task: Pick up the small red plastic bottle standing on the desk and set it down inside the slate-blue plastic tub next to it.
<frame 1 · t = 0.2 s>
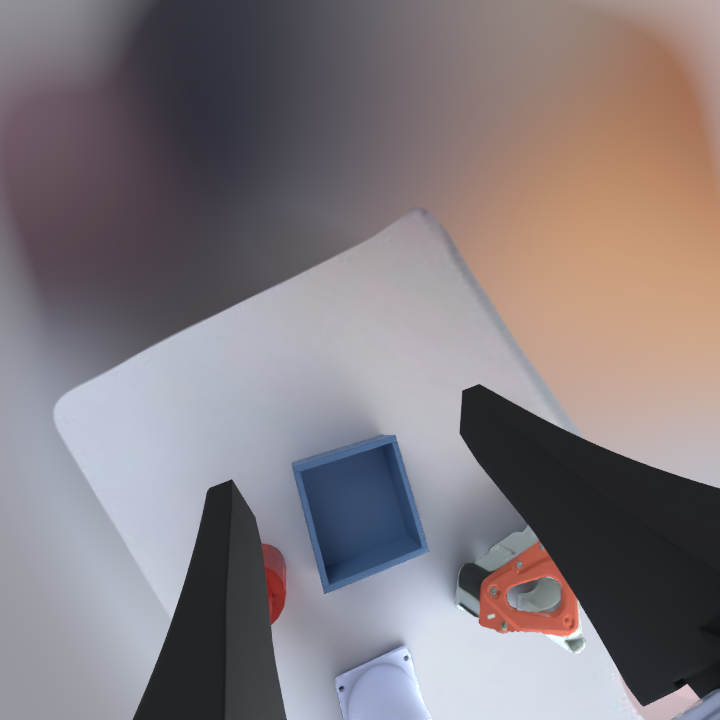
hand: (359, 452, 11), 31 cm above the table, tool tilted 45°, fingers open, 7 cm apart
bottle: (259, 570, 37), on the table
tape dispenser: (518, 548, 43), on the table
tub: (352, 500, 40), on the table
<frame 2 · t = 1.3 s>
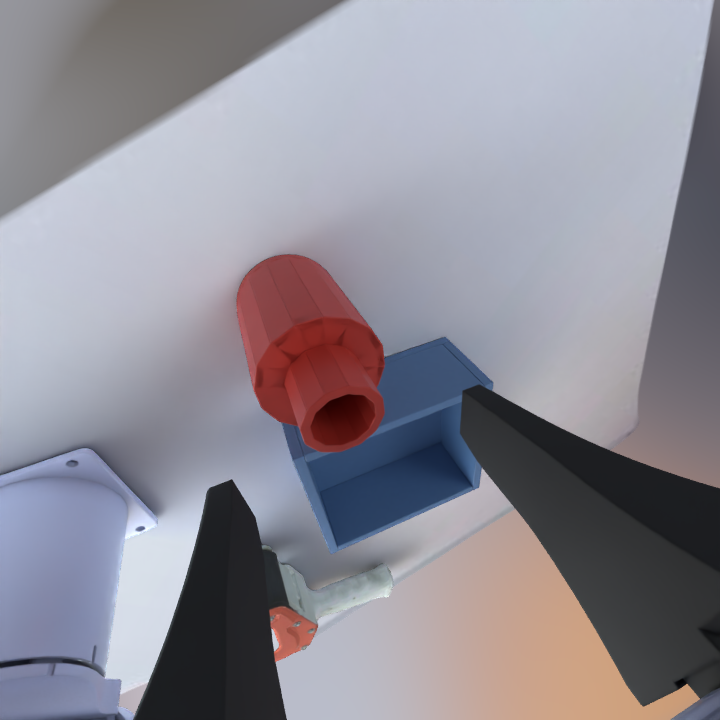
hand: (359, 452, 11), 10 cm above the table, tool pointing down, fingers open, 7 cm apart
bottle: (288, 302, 19), on the table
tape dispenser: (282, 582, 35), on the table
tub: (373, 420, 26), on the table
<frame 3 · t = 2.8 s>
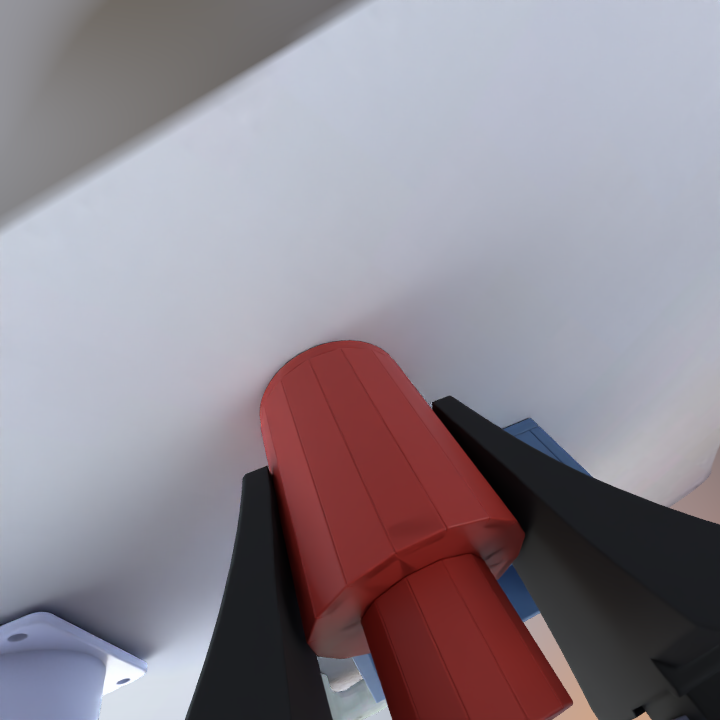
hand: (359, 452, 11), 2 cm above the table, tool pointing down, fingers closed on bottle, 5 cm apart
bottle: (334, 402, 13), on the table, touching gripper
tape dispenser: (301, 683, 29), on the table
tub: (427, 517, 20), on the table
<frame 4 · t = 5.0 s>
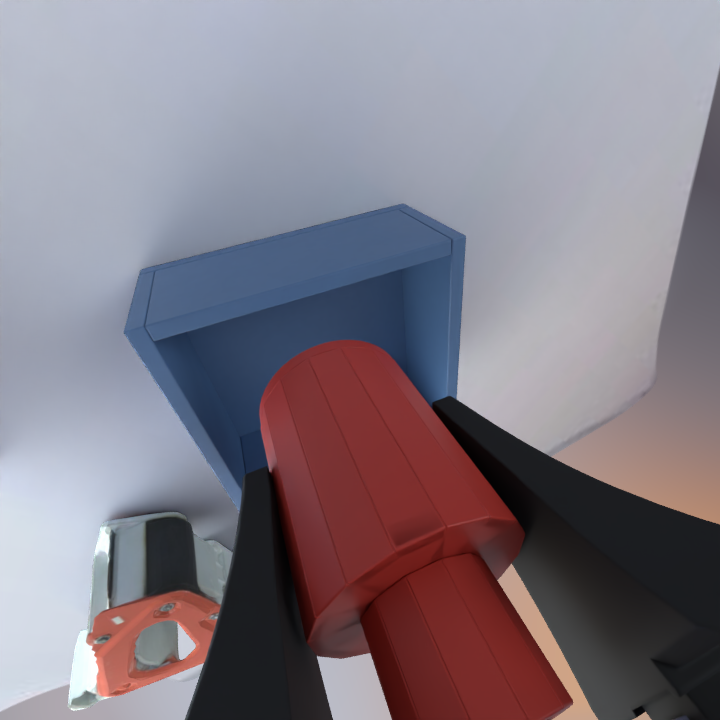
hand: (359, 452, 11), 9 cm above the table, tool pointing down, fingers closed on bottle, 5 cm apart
bottle: (333, 401, 13), point 7 cm above the table, touching gripper
tape dispenser: (212, 564, 28), on the table
tub: (308, 334, 19), on the table
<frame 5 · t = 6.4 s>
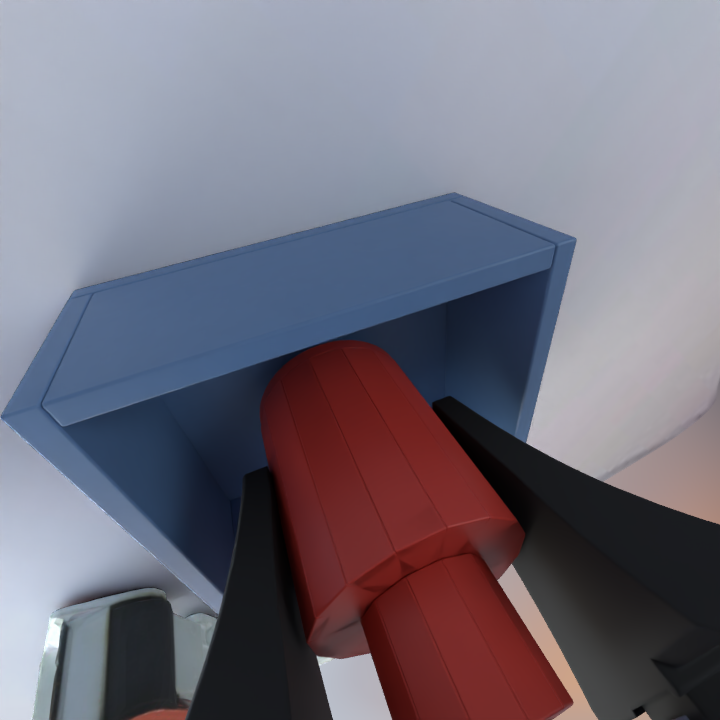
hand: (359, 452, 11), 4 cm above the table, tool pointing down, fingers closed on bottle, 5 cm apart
bottle: (333, 401, 13), point 2 cm above the table, touching gripper
tape dispenser: (201, 635, 23), on the table
tub: (319, 369, 14), on the table
when the fingers open (3 cm above the table, at t = 7.3 s): bottle stays where it is, resting on tub.
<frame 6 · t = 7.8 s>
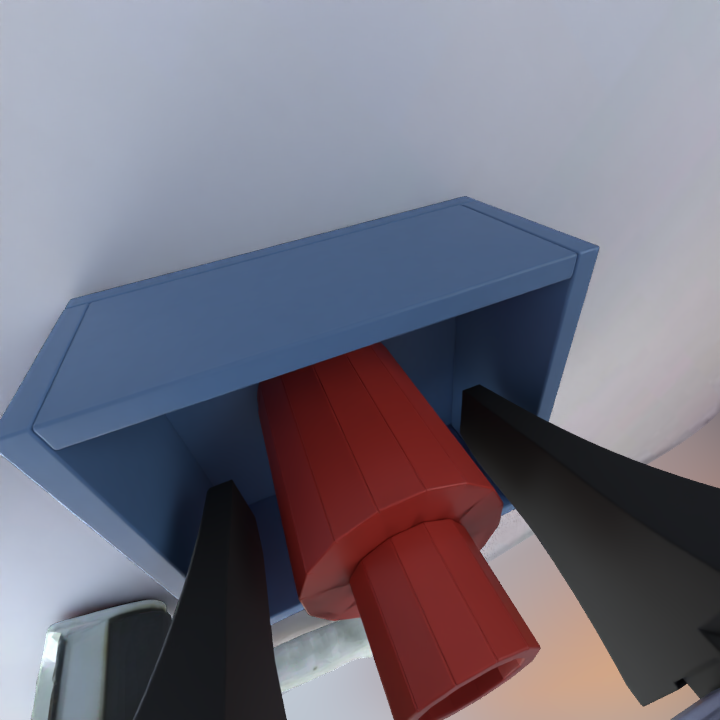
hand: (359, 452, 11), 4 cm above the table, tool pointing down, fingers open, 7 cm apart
bottle: (328, 387, 13), point 1 cm above the table, touching tub
tape dispenser: (201, 645, 23), on the table
tub: (324, 378, 14), on the table
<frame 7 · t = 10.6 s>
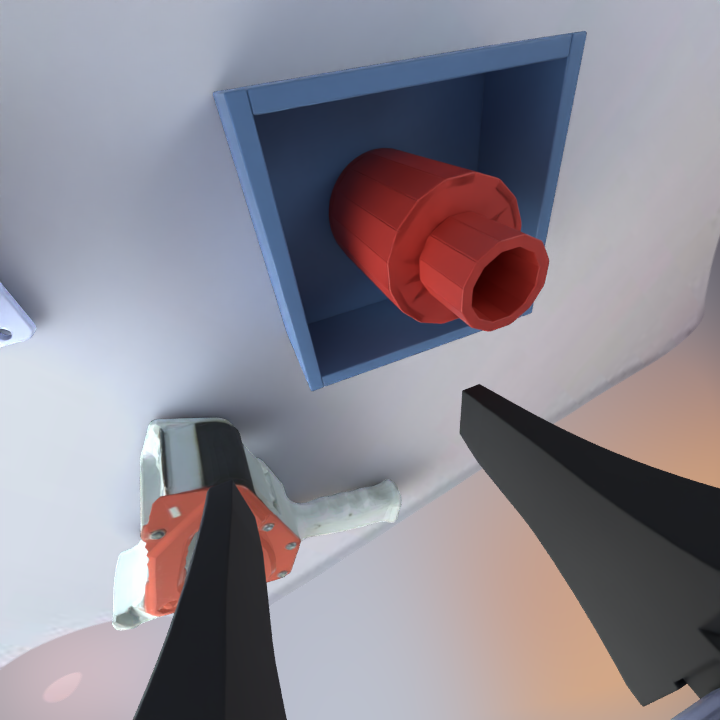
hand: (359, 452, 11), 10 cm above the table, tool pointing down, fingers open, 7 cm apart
bottle: (380, 210, 17), point 1 cm above the table, touching tub
tape dispenser: (254, 492, 26), on the table
tub: (375, 207, 18), on the table
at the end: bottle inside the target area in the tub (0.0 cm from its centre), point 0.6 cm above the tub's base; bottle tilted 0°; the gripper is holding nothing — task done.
